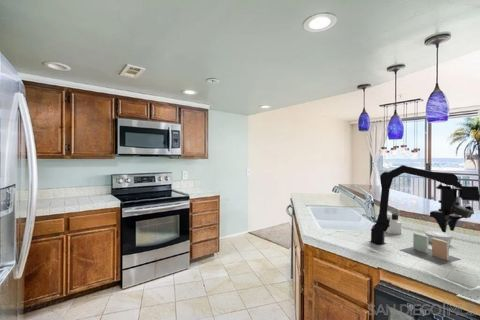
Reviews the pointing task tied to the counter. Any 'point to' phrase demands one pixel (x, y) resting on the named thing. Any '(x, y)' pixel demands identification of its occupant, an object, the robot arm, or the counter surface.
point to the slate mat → (429, 256)
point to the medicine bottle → (394, 224)
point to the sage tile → (420, 242)
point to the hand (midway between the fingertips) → (448, 231)
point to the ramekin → (438, 236)
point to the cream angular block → (440, 248)
